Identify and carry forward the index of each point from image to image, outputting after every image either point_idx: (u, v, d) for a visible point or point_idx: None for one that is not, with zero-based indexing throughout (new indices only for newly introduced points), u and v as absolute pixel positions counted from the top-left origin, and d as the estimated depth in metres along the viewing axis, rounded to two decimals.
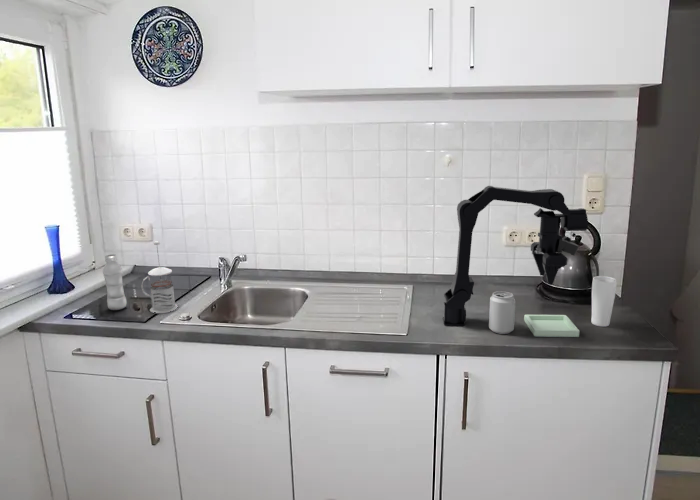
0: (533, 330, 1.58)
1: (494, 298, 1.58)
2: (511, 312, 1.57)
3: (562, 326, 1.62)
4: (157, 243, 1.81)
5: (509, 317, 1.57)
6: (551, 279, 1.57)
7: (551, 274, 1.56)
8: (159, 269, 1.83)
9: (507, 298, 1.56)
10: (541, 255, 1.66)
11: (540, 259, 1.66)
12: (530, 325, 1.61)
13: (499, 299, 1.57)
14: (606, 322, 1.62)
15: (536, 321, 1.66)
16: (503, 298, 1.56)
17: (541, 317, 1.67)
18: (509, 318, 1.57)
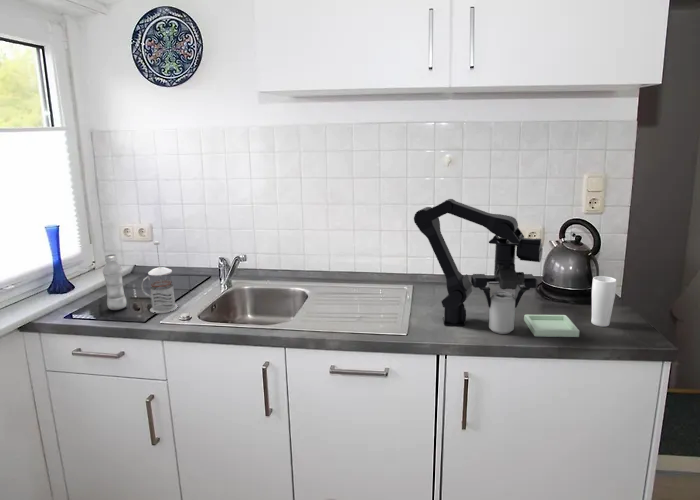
0: (533, 330, 1.58)
1: (494, 298, 1.58)
2: (511, 312, 1.57)
3: (562, 326, 1.62)
4: (157, 243, 1.81)
5: (509, 317, 1.57)
6: (487, 302, 1.60)
7: (485, 296, 1.60)
8: (159, 269, 1.83)
9: (507, 298, 1.56)
10: (517, 286, 1.59)
11: (516, 290, 1.59)
12: (530, 325, 1.61)
13: (499, 299, 1.57)
14: (606, 322, 1.62)
15: (536, 321, 1.66)
16: (503, 298, 1.56)
17: (541, 317, 1.67)
18: (509, 318, 1.57)
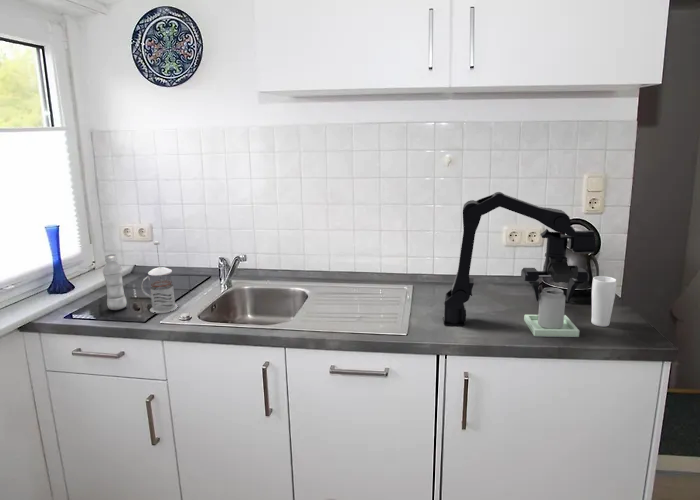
0: (533, 330, 1.58)
1: (545, 294, 1.58)
2: (562, 308, 1.57)
3: None
4: (157, 243, 1.81)
5: (560, 313, 1.57)
6: (535, 295, 1.60)
7: (533, 290, 1.60)
8: (159, 269, 1.83)
9: (558, 294, 1.57)
10: (570, 280, 1.59)
11: (569, 284, 1.59)
12: (530, 325, 1.61)
13: (550, 295, 1.57)
14: (606, 322, 1.62)
15: (536, 321, 1.66)
16: (554, 294, 1.57)
17: None
18: (560, 314, 1.57)
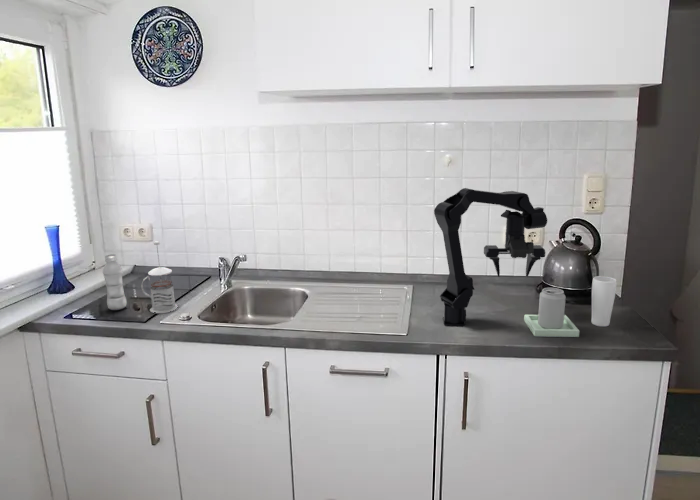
0: (533, 330, 1.58)
1: (545, 294, 1.58)
2: (562, 308, 1.57)
3: None
4: (157, 243, 1.81)
5: (560, 313, 1.57)
6: (496, 271, 1.73)
7: (495, 266, 1.73)
8: (159, 269, 1.83)
9: (558, 294, 1.57)
10: (529, 256, 1.71)
11: (528, 260, 1.72)
12: (530, 325, 1.61)
13: (550, 295, 1.57)
14: (606, 322, 1.62)
15: (536, 321, 1.66)
16: (554, 294, 1.57)
17: None
18: (560, 314, 1.57)
